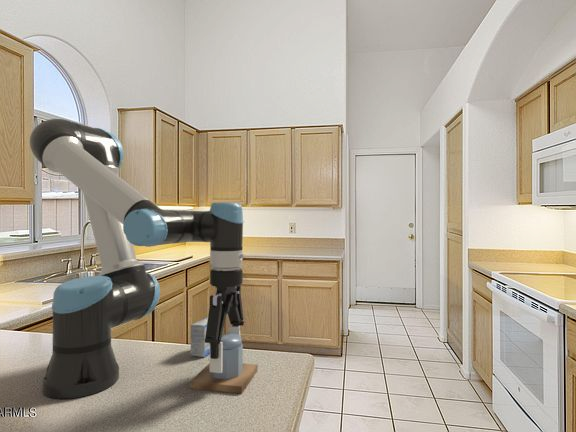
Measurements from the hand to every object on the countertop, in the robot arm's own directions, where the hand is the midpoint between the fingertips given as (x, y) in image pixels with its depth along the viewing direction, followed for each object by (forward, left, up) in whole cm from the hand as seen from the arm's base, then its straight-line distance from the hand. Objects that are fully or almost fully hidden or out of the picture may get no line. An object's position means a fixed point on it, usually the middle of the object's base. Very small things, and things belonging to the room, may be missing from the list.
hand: (225, 361), depth 86 cm
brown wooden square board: (0, 0, -4) cm, 4 cm away
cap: (0, 0, -3) cm, 3 cm away
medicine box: (-12, +15, -4) cm, 20 cm away
